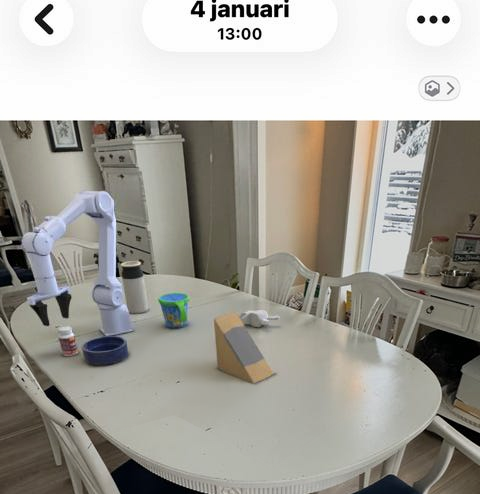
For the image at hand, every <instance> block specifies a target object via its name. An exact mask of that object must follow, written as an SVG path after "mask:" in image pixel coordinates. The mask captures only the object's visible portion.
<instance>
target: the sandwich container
mask: <svg viewBox="0 0 480 494" xmlns="http://www.w3.org/2000/svg"><path fill="white" fill-rule="evenodd" d="M213 326H214V338H215V340H214V341H215V349H216V350H215V351H216V363H217V369H218V370H221V371H223V372H225V373H228V374H230V375H232V376H235V377H237V378H239V379H242V380H245V381H247V382H249V383H252V384H255V383H258V382H260V381H263V380H266V379H267V378H269V377H271V376H273V375H275V372H274V371H273V369H272V368H271V366H270V365H269V363H268V361H267V360H266V359H265V357H264V355H263V353H262V351H261V350H260V349H259V347H258V346H257V344H256V343H255V340H254V339H253V338H252V335H251V334H250V333H249V331H248V330H247V328H246V326H245V324H243V323H242V321H241V319H240V317H239V314H238V312H237V311H232V312H229V313H226V314H223V315H220V316H216V317H214V318H213Z"/></svg>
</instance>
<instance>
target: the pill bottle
mask: <svg viewBox="0 0 480 494" xmlns="http://www.w3.org/2000/svg"><path fill="white" fill-rule="evenodd" d="M57 333H58V341H59V345H60V349H61V352H62V355H63V356H64V357H73V356H75V355H77V354H79V351H78V346H77V341H76V337H75V334H74V333H73V330H72V327H71V326H69V325H66V326H61V327H58V328H57Z"/></svg>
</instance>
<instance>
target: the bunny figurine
mask: <svg viewBox="0 0 480 494" xmlns="http://www.w3.org/2000/svg"><path fill="white" fill-rule="evenodd" d="M238 316H239V317H240V319H241V321H242V323H243V324H244V325H250V326H252V327H255V328H261V326H267V325H269V324H270V321H271V320H273V321H279V320H281V317H280V316H279V315H269V314H268V312H267V310H264V309H258V310H253V309H250V310H247V311H244V312H242V313H240V314H238Z"/></svg>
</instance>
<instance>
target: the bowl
mask: <svg viewBox="0 0 480 494" xmlns="http://www.w3.org/2000/svg"><path fill="white" fill-rule="evenodd" d="M81 351H82V355H83V360H84V361H85V362H86V363H87V364H90V365H91V364H92V365H97V366H98V365H99V366H101V365H102V366H104V365H111V364H115V363H118V362H121V361H123V360H124V359H126V358H127V357H128V356H129V349H128V342H127V340H126V338H124V337H121V336H117V335H112V336H106V335H104V336H99V337H95V338H92V339H88V340H86V341H85V342H83V344H82V345H81Z"/></svg>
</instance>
